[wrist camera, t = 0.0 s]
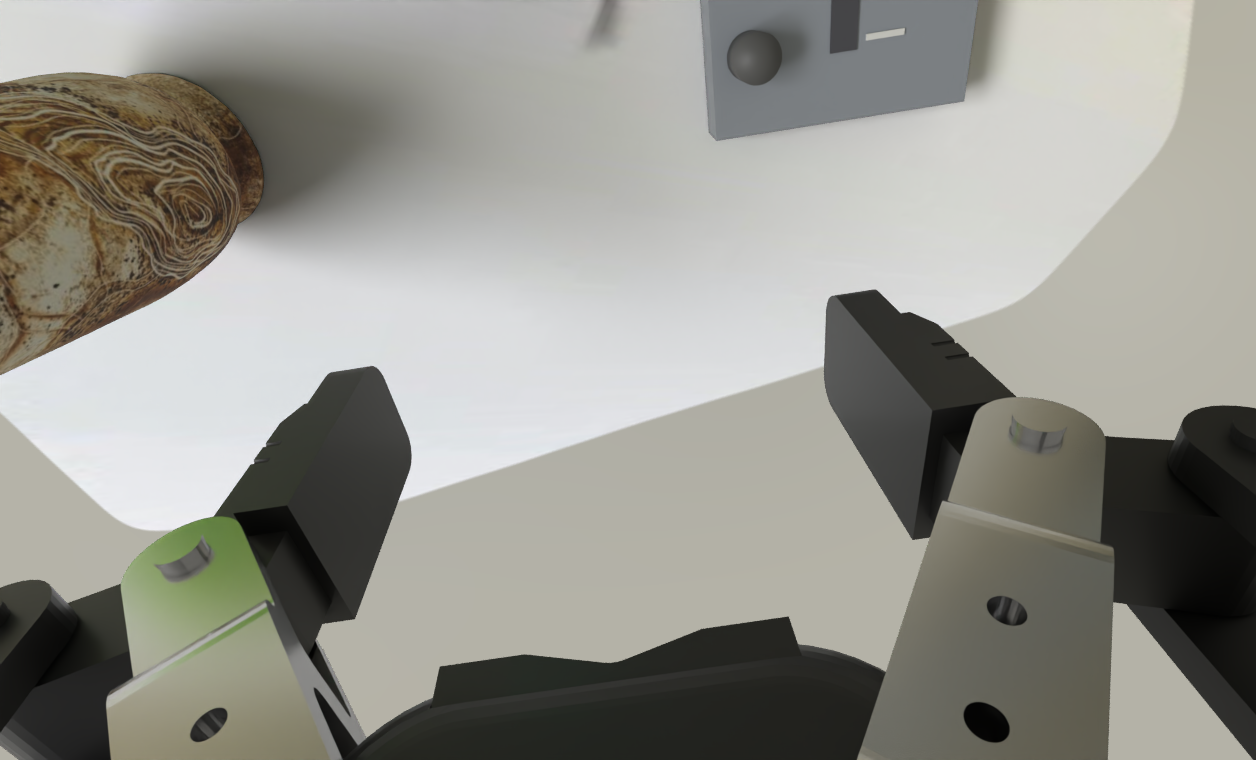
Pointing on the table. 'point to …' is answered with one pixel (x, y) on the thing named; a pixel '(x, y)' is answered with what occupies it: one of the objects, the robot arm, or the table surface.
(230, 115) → the vase
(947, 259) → the table surface
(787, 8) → the console
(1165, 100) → the table surface
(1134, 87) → the table surface
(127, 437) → the table surface
